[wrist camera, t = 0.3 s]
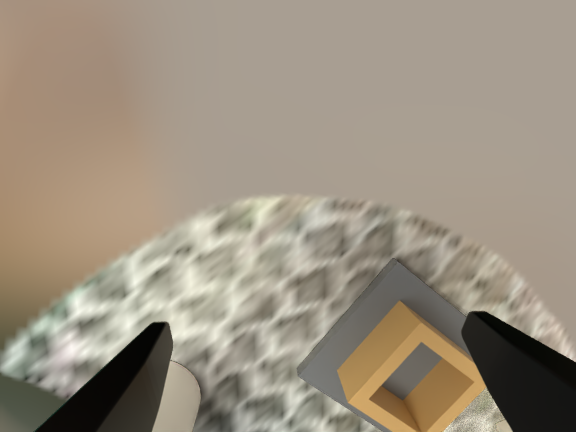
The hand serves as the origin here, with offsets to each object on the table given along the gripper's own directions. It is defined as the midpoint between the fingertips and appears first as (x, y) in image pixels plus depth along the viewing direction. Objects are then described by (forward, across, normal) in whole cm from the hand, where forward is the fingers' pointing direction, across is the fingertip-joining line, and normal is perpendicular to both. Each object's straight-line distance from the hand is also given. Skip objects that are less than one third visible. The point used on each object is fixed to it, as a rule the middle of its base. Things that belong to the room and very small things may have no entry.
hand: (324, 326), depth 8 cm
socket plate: (+12, -11, +17) cm, 23 cm away
